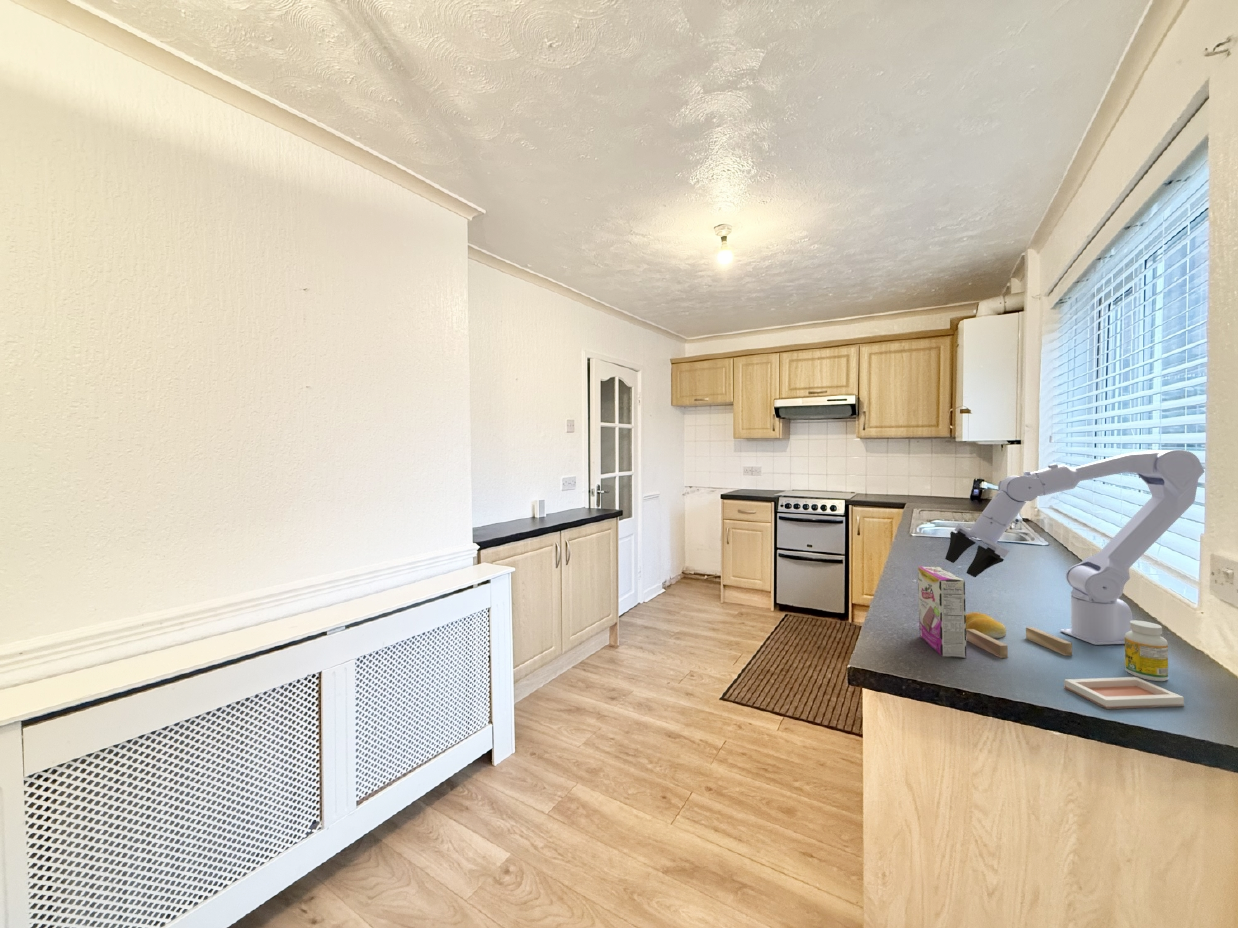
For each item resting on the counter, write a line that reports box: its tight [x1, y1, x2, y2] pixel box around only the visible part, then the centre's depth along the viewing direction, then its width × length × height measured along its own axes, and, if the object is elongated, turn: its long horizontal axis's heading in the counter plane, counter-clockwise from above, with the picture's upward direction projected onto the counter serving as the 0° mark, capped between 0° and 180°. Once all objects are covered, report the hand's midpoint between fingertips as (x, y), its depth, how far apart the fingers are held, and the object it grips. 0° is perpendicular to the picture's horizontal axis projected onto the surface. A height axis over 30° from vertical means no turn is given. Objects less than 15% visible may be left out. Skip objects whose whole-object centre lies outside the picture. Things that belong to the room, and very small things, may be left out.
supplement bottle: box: [1124, 619, 1169, 682], centre depth 87 cm, size 5×5×10 cm
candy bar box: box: [917, 566, 967, 659], centre depth 101 cm, size 11×5×16 cm, turn 168°
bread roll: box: [966, 612, 1007, 639], centre depth 110 cm, size 8×9×4 cm
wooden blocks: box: [966, 626, 1073, 659], centre depth 100 cm, size 15×9×2 cm, turn 91°
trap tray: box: [1064, 676, 1185, 710], centre depth 80 cm, size 13×7×2 cm, turn 91°
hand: (959, 567), depth 114 cm, fingers open, 7 cm apart
